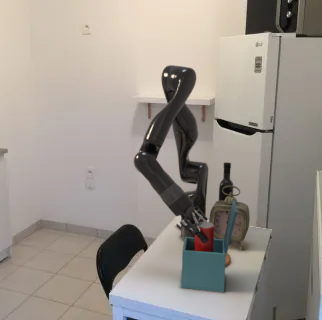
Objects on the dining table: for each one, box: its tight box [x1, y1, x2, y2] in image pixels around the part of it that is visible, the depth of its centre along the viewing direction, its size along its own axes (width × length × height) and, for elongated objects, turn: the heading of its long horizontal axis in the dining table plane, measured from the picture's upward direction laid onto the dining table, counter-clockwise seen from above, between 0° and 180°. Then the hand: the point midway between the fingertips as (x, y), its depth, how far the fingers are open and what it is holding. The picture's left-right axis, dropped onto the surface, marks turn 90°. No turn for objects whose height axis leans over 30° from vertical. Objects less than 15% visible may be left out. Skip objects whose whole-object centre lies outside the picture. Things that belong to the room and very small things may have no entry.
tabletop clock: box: [208, 185, 251, 250], centre depth 174 cm, size 14×9×25 cm, turn 65°
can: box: [194, 221, 215, 252], centre depth 146 cm, size 6×6×10 cm
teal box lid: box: [224, 199, 237, 254], centre depth 143 cm, size 14×12×1 cm
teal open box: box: [181, 237, 227, 293], centre depth 148 cm, size 14×12×13 cm
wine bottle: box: [218, 161, 234, 201], centre depth 189 cm, size 6×6×30 cm
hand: (209, 237), depth 145 cm, fingers closed on can, 6 cm apart
